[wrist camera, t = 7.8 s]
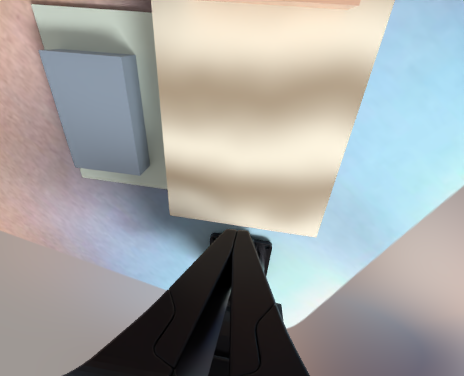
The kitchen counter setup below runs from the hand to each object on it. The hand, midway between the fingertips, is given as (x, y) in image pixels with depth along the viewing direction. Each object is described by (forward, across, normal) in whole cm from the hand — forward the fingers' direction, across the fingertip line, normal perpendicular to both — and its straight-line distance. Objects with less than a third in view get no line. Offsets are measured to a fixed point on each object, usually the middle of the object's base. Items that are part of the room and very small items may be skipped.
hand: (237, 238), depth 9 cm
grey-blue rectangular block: (+10, +12, -1) cm, 16 cm away
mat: (+12, +12, -1) cm, 17 cm away
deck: (+12, 0, -3) cm, 13 cm away
